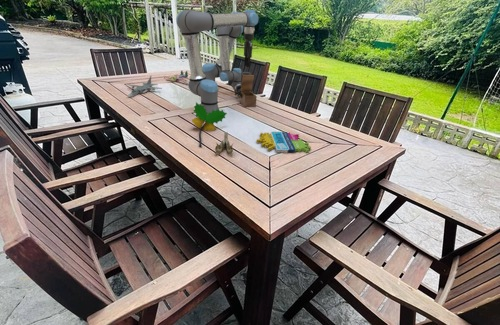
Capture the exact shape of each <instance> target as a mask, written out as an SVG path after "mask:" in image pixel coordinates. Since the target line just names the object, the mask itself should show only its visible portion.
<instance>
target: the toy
mask: <svg viewBox="0 0 500 325" xmlns="http://www.w3.org/2000/svg"><path fill="white" fill-rule="evenodd" d="M188 76H189V74H188V70H186V71H185V73H184V71H183V70H181V71H180V74H174V75H171V76H166V75H164V76H163V79H164V80H166V79H167V80H170V81H169V82H174V81H184V82H187V78H189V77H188ZM174 83H175V82H174Z"/></svg>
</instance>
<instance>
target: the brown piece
mask: <svg viewBox="0 0 500 325" xmlns="http://www.w3.org/2000/svg"><path fill="white" fill-rule="evenodd" d="M254 80H255V75H254V74H252V73H251V72H250V71H241V92H243V91H253V87H254V86H253V85H254Z"/></svg>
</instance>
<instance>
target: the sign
mask: <svg viewBox="0 0 500 325" xmlns="http://www.w3.org/2000/svg"><path fill="white" fill-rule="evenodd" d="M299 136H300V135H299V134H298V133H296V134H294V133H291V132H287V131H270V132H264V133H263V132H260V133H259V139H258V138H257V139H256V143H257V144H261V148H263V147H264V148H265V149H267V151H268V152H271V151H272V150H273V149H275V152H276V153H283V154H285V153H287V154H288V153H290V154H293V153H296V152H298V153H301V152H305V153H310V151H311V150H312V149H311V148H312V146H309V142H304V141H303V139H302V138H299Z"/></svg>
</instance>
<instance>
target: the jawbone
mask: <svg viewBox="0 0 500 325" xmlns="http://www.w3.org/2000/svg"><path fill="white" fill-rule="evenodd" d="M223 135H224V136H223V140H222V139H221V142H220V144H218V142H215V144H216V146H215V148H214V149H215V152H214V154H215V155H217V156H218V155H220V153H221V152H223V151H224V150H226V152H227V153H228V155H229V156H233V155H234V154H233V153H234V148H233V144H234V143H230V140H228V139H229V138H228V137H229V136H228V135H229V133H228V131H226V132H224V134H223Z"/></svg>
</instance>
